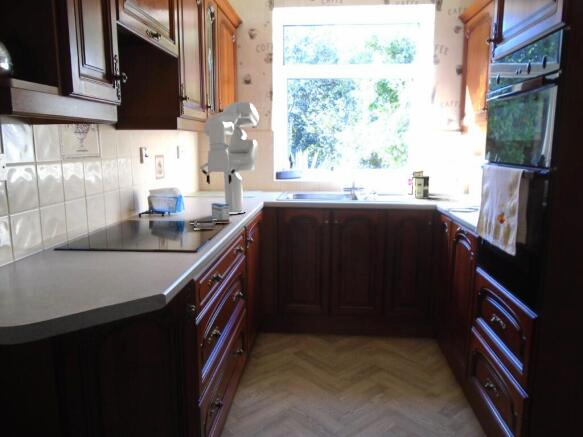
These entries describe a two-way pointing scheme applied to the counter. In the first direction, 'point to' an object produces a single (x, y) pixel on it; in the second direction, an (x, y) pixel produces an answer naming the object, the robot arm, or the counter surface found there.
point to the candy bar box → (410, 179)
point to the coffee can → (420, 186)
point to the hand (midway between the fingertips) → (219, 183)
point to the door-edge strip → (215, 220)
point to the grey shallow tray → (204, 225)
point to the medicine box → (220, 211)
